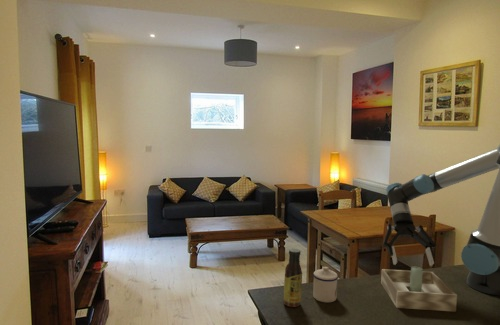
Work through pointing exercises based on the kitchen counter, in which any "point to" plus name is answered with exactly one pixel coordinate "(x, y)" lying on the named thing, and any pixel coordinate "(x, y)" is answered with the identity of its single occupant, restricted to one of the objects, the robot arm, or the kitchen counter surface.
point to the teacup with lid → (325, 285)
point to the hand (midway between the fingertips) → (413, 264)
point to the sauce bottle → (293, 280)
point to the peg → (416, 279)
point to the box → (429, 298)
